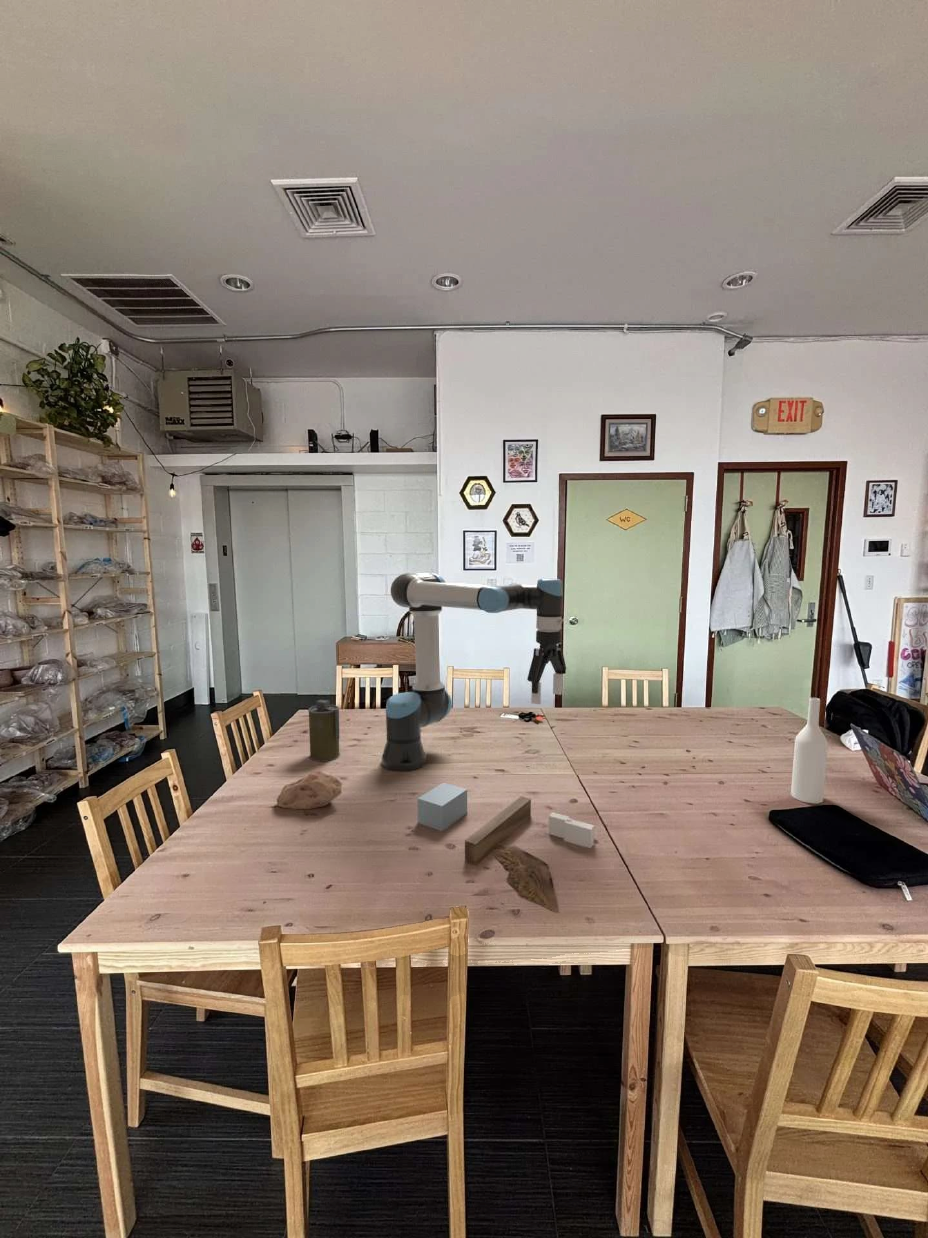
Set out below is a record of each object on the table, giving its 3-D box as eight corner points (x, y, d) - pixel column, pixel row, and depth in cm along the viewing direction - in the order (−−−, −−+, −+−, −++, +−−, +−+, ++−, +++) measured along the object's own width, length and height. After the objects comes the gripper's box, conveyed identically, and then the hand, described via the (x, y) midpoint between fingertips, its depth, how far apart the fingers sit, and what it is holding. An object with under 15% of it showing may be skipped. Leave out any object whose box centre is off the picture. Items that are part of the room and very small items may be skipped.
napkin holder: (606, 850, 132) (607, 828, 132) (566, 859, 128) (566, 836, 128) (573, 821, 146) (573, 801, 146) (536, 829, 142) (536, 808, 142)
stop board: (464, 860, 127) (464, 840, 126) (520, 813, 150) (521, 796, 149) (475, 864, 125) (475, 844, 125) (530, 816, 148) (530, 799, 148)
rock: (343, 795, 161) (342, 763, 160) (341, 810, 151) (340, 776, 150) (279, 799, 158) (278, 766, 157) (273, 815, 149) (271, 780, 147)
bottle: (795, 789, 166) (802, 693, 162) (826, 797, 160) (834, 698, 156) (787, 797, 160) (795, 698, 156) (819, 806, 154) (827, 704, 151)
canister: (303, 759, 189) (301, 703, 187) (321, 749, 199) (320, 696, 196) (329, 763, 185) (327, 706, 183) (346, 753, 195) (345, 699, 192)
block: (417, 823, 145) (417, 798, 144) (443, 806, 155) (443, 782, 154) (442, 831, 140) (442, 806, 139) (467, 813, 150) (467, 789, 149)
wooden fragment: (490, 849, 132) (490, 845, 132) (532, 844, 135) (532, 840, 134) (525, 919, 107) (525, 914, 107) (577, 911, 110) (577, 906, 110)
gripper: (539, 636, 151) (537, 710, 154) (578, 626, 171) (576, 692, 174) (516, 633, 156) (515, 705, 158) (556, 624, 175) (555, 688, 178)
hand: (546, 698), depth 166 cm, fingers open, 13 cm apart
